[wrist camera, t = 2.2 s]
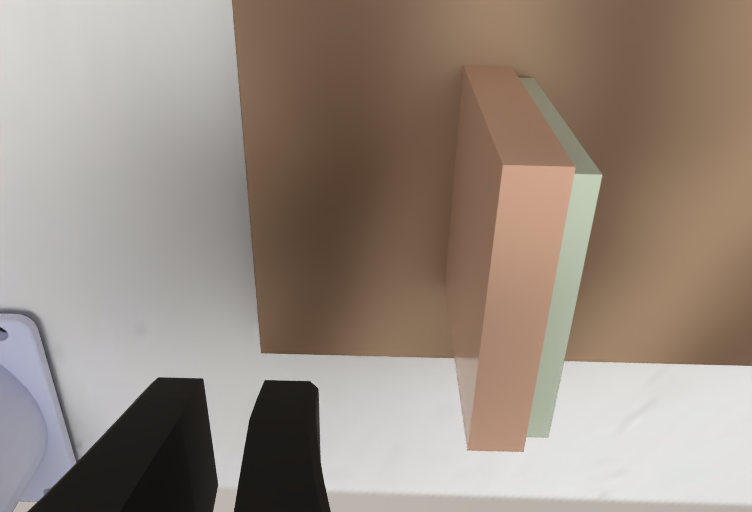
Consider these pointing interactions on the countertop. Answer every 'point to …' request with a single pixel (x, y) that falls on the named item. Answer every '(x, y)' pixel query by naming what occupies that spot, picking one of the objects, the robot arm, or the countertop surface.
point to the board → (438, 153)
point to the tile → (514, 254)
